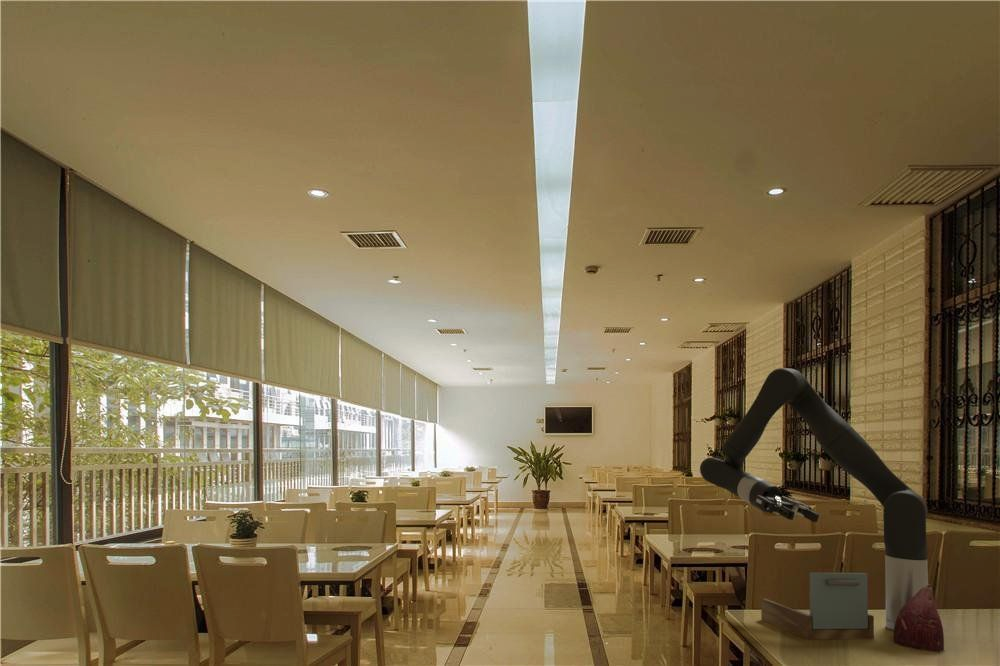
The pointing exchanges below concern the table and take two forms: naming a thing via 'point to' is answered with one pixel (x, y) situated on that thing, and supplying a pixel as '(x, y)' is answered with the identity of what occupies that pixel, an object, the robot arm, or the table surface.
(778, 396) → the robot arm
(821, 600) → the panel
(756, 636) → the table surface
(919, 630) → the vegetable
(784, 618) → the brown wooden tray
